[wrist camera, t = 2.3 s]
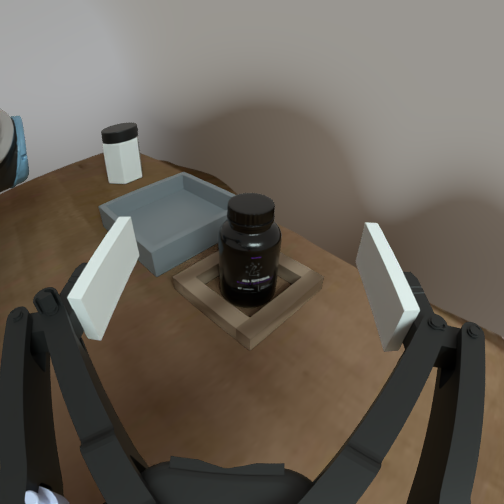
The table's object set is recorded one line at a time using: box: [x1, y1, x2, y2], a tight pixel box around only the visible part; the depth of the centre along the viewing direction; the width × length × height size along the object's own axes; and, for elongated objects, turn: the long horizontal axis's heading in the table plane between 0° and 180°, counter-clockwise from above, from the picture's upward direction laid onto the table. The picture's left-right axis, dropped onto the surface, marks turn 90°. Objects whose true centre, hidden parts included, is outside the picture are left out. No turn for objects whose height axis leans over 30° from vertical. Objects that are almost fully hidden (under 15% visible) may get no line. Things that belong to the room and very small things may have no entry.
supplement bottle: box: [218, 193, 281, 308], centre depth 35 cm, size 7×7×12 cm
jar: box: [101, 123, 142, 184], centre depth 63 cm, size 9×8×12 cm
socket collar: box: [173, 250, 324, 350], centre depth 38 cm, size 13×13×2 cm
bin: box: [99, 172, 236, 277], centre depth 49 cm, size 18×18×4 cm
